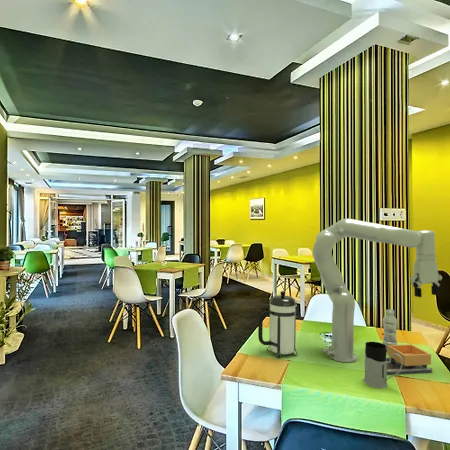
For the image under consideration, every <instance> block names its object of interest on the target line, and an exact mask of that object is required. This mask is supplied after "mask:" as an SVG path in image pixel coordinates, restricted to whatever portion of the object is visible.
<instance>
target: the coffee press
mask: <svg viewBox="0 0 450 450" xmlns="http://www.w3.org/2000/svg"><path fill="white" fill-rule="evenodd" d="M279 294H280V295H279ZM279 294H278V295H274V296H272V297H271V298H270V300H268V302H269V310H264V311H263V312H261V313H260V315H259V318H258V323H257V325H258V327H257V328H258V332H257V334H258V335H257V336H258V341H259V342H260V344H261V345H263V346H268V347H267V348H266V351H267V352H270V351H272V353H274V354H276V359H281V355H289V354H292V355H293V356H294V357H297V356H298V355H299V353H298V351H297V350H296V337H297V336H296V329H297V328H296V326H297V325H296V323H297V322H296V321H297V315H296V314H297V310H296V307H298V305H297V301H296V300H295V298H294V297H293V296H290V295H286V292H285V290H282V291H280V293H279ZM265 316H269V340H267V341H266V340H264V338H263V332H264V331H263V328H264V327H263V325H264V324H263V322H264V318H265Z"/></svg>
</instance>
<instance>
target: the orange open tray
mask: <svg viewBox="0 0 450 450" xmlns="http://www.w3.org/2000/svg"><path fill="white" fill-rule="evenodd" d="M393 353H396V354H399V355H400V356H401V357H402V361H403V365H404V367H405V368H409V367H410V366H413V365H421V366H422V367H424V368H426V367H428V366H430V365H432V354H431V353H429V352H427V351H425V350H424V349H421V348H419V347H418V346H416V345H413V344H397V345H387V350H386V356H388V357H390V356H391V355H392V354H393ZM396 354H394V355H392V357H391V359H393V360H396V361H398V362H400V363H401V358H400V357H399V356H398V355H396Z"/></svg>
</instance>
